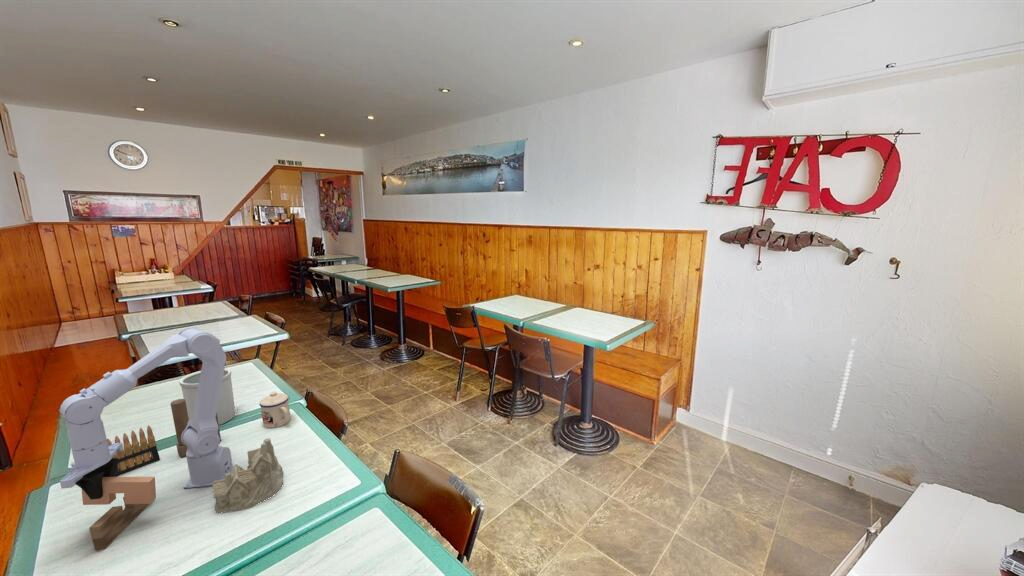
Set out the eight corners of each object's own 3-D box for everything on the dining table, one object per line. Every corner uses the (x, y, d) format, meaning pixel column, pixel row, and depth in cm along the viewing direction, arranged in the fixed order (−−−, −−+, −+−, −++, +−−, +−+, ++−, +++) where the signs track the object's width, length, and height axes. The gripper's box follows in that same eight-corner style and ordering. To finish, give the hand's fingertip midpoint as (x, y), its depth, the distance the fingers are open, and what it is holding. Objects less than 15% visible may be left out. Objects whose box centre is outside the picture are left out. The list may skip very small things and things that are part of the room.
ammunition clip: (112, 478, 113) (103, 441, 111) (110, 476, 114) (102, 438, 112) (160, 460, 122) (153, 424, 119) (158, 457, 123) (151, 423, 120)
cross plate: (156, 497, 98) (154, 476, 97) (150, 503, 96) (149, 482, 95) (90, 498, 96) (88, 477, 94) (82, 504, 94) (81, 482, 93)
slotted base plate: (146, 500, 105) (142, 480, 104) (154, 499, 105) (150, 479, 104) (94, 550, 89) (89, 527, 88) (104, 548, 90) (99, 526, 88)
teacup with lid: (257, 424, 142) (253, 394, 139) (282, 413, 149) (278, 385, 147) (275, 433, 136) (271, 402, 133) (301, 421, 143) (297, 392, 141)
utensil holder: (198, 412, 150) (190, 370, 147) (243, 407, 154) (236, 365, 151) (179, 433, 136) (170, 386, 133) (228, 426, 141) (221, 380, 137)
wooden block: (221, 441, 131) (213, 391, 128) (181, 458, 123) (171, 405, 119) (217, 438, 133) (209, 389, 130) (177, 454, 125) (167, 402, 121)
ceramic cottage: (288, 464, 119) (278, 421, 115) (279, 502, 104) (268, 454, 101) (227, 480, 114) (215, 435, 110) (209, 523, 99) (194, 473, 95)
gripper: (96, 428, 99) (107, 476, 101) (38, 464, 84) (52, 519, 87) (128, 426, 100) (138, 473, 102) (76, 461, 86) (89, 514, 88)
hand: (101, 494), depth 95 cm, fingers closed on cross plate, 2 cm apart
